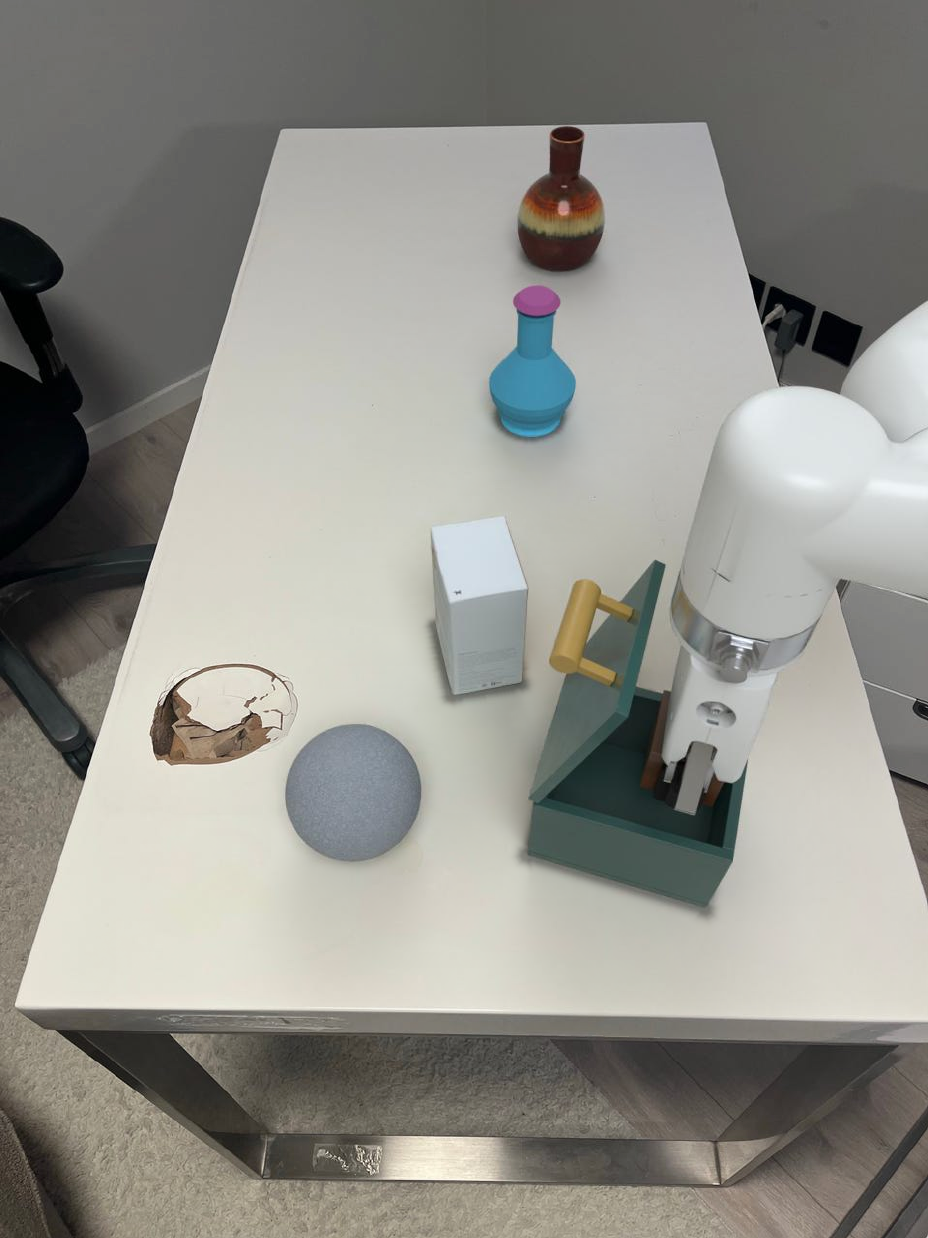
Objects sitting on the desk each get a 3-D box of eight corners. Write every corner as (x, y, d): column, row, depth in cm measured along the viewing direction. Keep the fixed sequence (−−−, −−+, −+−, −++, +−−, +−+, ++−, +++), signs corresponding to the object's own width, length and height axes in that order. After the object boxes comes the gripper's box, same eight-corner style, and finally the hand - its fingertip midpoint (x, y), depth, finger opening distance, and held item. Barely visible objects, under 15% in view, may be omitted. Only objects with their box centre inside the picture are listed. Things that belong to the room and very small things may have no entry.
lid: (666, 564, 56) (597, 532, 56) (628, 717, 50) (549, 682, 49) (578, 669, 68) (520, 643, 68) (538, 804, 61) (474, 775, 61)
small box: (523, 684, 78) (530, 589, 68) (452, 697, 77) (447, 603, 67) (502, 611, 83) (505, 513, 72) (434, 623, 82) (427, 525, 72)
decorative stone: (447, 841, 69) (443, 782, 61) (330, 906, 67) (309, 853, 59) (388, 743, 75) (377, 677, 67) (277, 799, 72) (251, 737, 64)
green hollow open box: (728, 772, 73) (754, 716, 66) (706, 908, 66) (732, 862, 59) (564, 728, 75) (573, 670, 68) (527, 855, 69) (532, 804, 62)
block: (722, 745, 64) (738, 708, 60) (712, 807, 61) (728, 773, 57) (652, 726, 65) (664, 689, 61) (639, 787, 62) (650, 751, 58)
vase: (498, 253, 119) (500, 132, 106) (558, 223, 123) (567, 103, 111) (558, 289, 114) (567, 166, 101) (618, 256, 118) (634, 134, 106)
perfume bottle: (568, 388, 102) (580, 267, 90) (576, 444, 96) (589, 322, 84) (487, 390, 102) (488, 269, 90) (490, 446, 96) (491, 325, 84)
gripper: (801, 757, 43) (719, 895, 57) (828, 508, 52) (752, 680, 67) (644, 716, 44) (603, 860, 59) (699, 481, 54) (652, 655, 68)
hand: (683, 763), depth 63 cm, fingers closed on block, 5 cm apart
